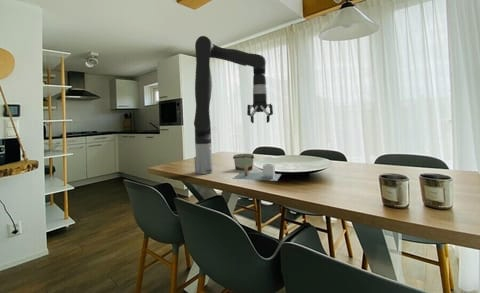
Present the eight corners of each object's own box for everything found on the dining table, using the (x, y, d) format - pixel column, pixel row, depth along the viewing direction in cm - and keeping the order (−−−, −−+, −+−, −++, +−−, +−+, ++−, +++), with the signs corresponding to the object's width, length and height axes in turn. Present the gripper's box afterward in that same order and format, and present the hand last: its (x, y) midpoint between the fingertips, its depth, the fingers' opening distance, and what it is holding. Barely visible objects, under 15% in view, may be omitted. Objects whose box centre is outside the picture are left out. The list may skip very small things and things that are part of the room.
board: (232, 181, 117) (232, 168, 116) (240, 175, 130) (240, 163, 129) (277, 183, 110) (277, 170, 109) (281, 176, 123) (281, 164, 122)
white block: (263, 177, 116) (262, 165, 116) (265, 175, 121) (264, 163, 120) (273, 178, 115) (273, 166, 114) (274, 175, 120) (274, 164, 119)
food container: (255, 170, 142) (254, 153, 141) (254, 172, 136) (254, 155, 135) (234, 170, 143) (234, 153, 142) (233, 172, 137) (232, 155, 136)
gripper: (245, 93, 130) (246, 123, 132) (271, 92, 126) (271, 122, 128) (249, 95, 138) (249, 123, 139) (273, 93, 133) (273, 122, 135)
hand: (260, 122), depth 134 cm, fingers open, 8 cm apart
